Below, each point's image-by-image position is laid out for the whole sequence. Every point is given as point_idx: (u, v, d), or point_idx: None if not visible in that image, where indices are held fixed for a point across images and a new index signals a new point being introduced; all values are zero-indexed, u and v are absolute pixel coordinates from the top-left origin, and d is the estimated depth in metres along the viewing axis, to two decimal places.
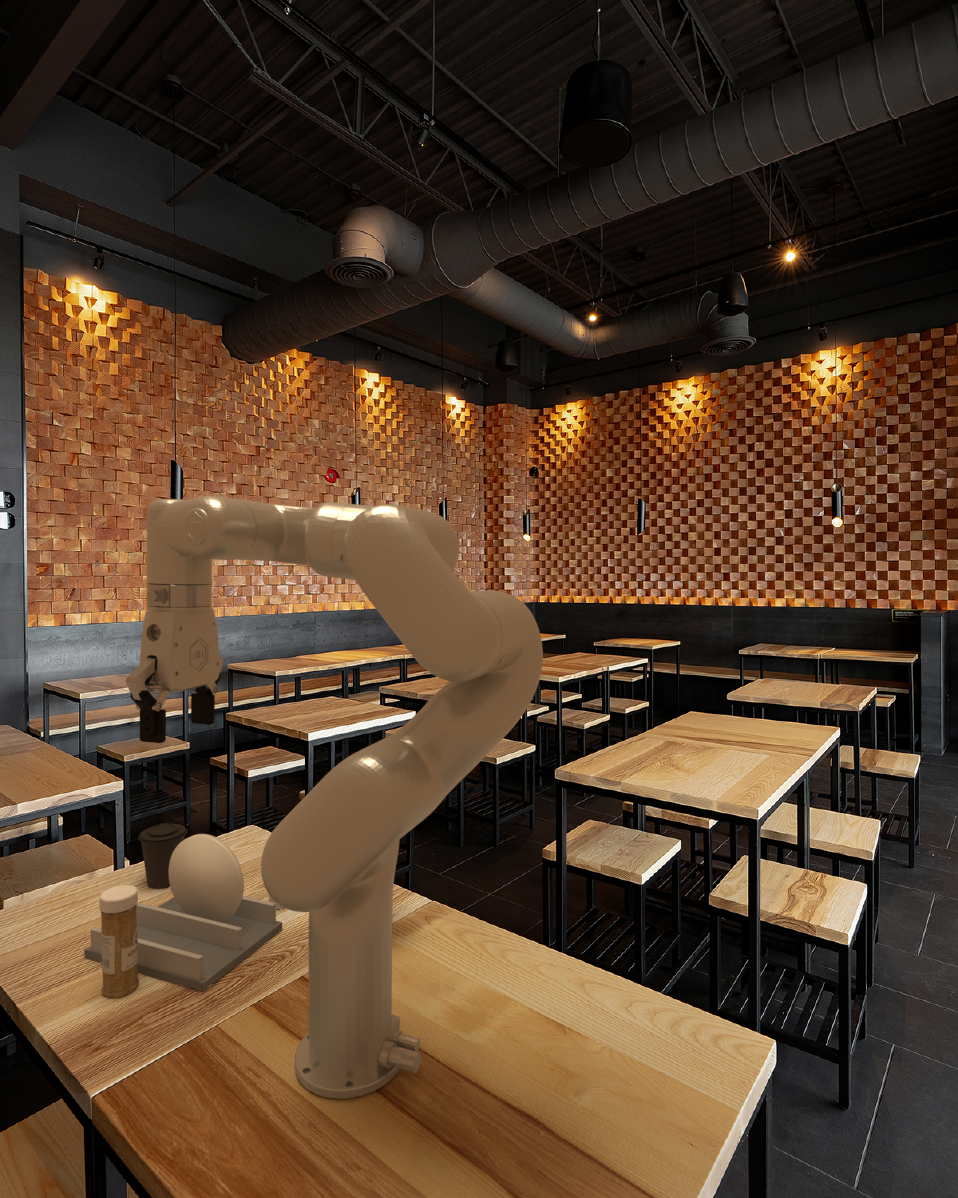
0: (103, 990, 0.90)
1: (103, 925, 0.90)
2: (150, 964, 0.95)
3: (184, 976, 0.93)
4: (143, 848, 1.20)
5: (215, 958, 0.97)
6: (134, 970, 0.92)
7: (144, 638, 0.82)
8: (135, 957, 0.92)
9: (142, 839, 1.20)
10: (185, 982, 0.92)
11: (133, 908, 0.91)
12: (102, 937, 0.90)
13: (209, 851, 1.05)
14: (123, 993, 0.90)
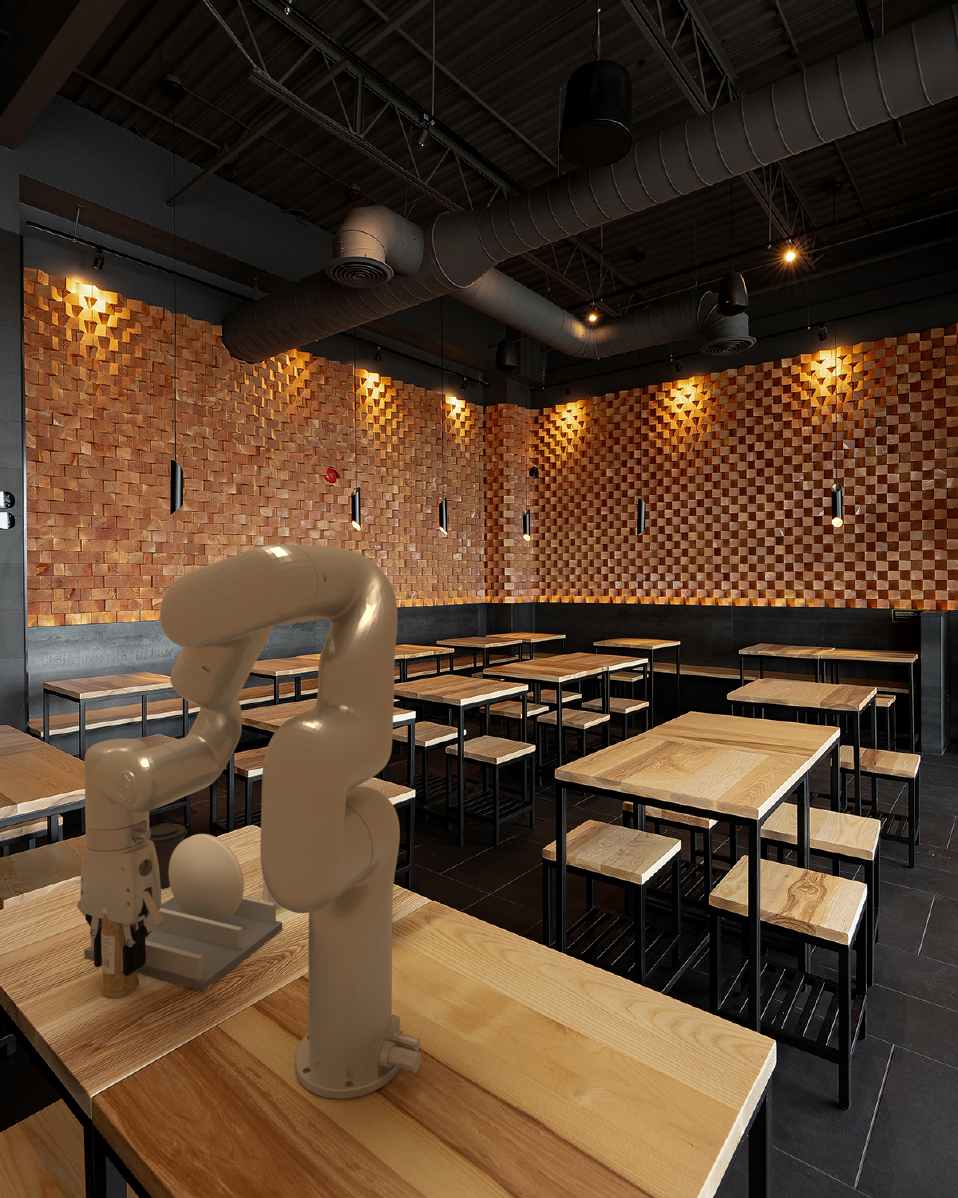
0: (103, 990, 0.90)
1: (103, 925, 0.90)
2: (150, 964, 0.95)
3: (184, 976, 0.93)
4: None
5: (215, 958, 0.97)
6: None
7: (137, 877, 0.88)
8: None
9: None
10: (185, 982, 0.92)
11: None
12: (102, 937, 0.90)
13: (209, 851, 1.05)
14: (123, 993, 0.90)
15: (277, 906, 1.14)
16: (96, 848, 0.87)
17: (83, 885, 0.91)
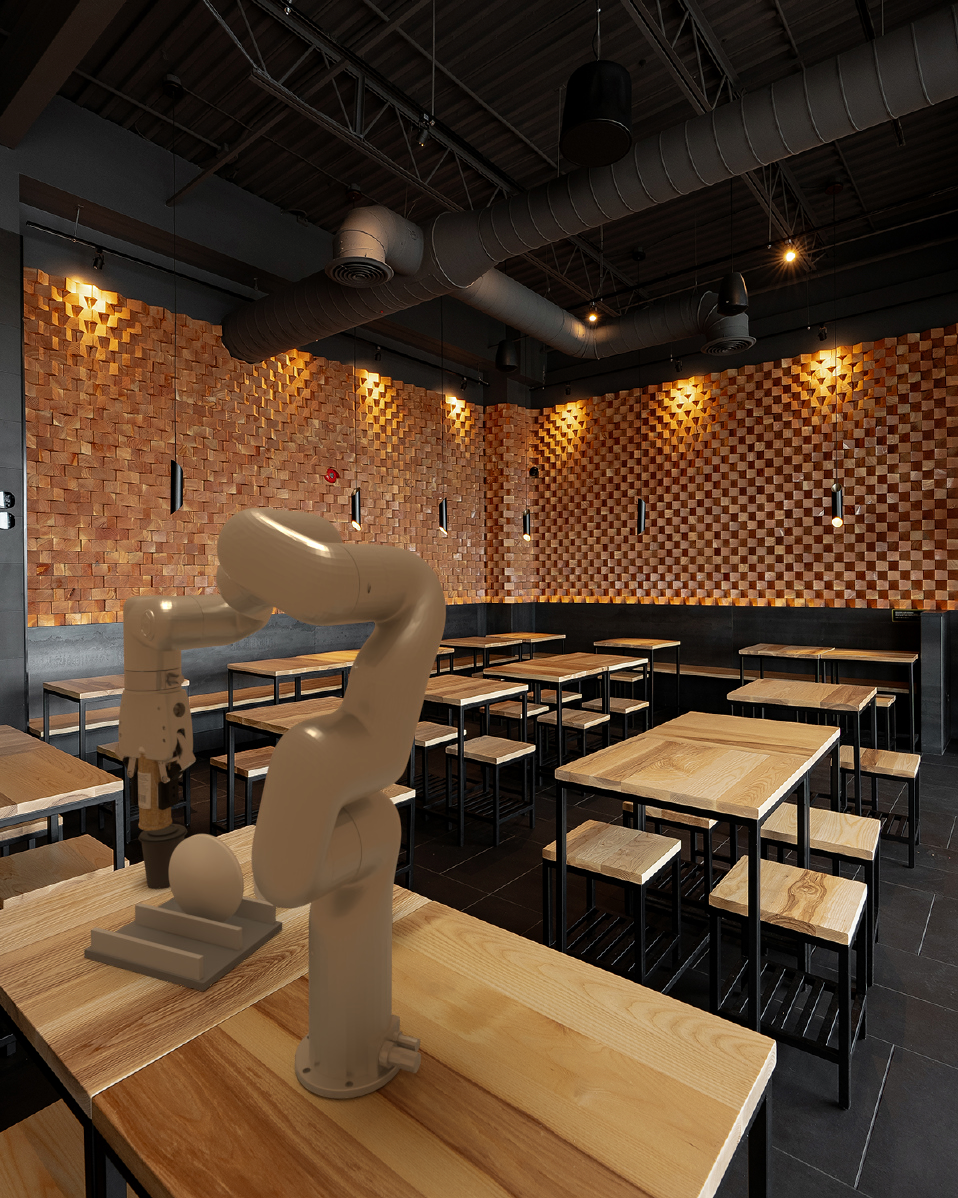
0: (140, 824, 0.98)
1: (140, 763, 0.97)
2: (150, 964, 0.95)
3: (184, 976, 0.93)
4: (143, 848, 1.20)
5: (215, 958, 0.97)
6: (168, 808, 0.99)
7: (171, 717, 0.96)
8: None
9: (142, 839, 1.20)
10: (185, 982, 0.92)
11: None
12: (139, 775, 0.97)
13: (209, 851, 1.05)
14: (158, 827, 0.98)
15: None
16: (134, 688, 0.95)
17: (121, 728, 0.98)
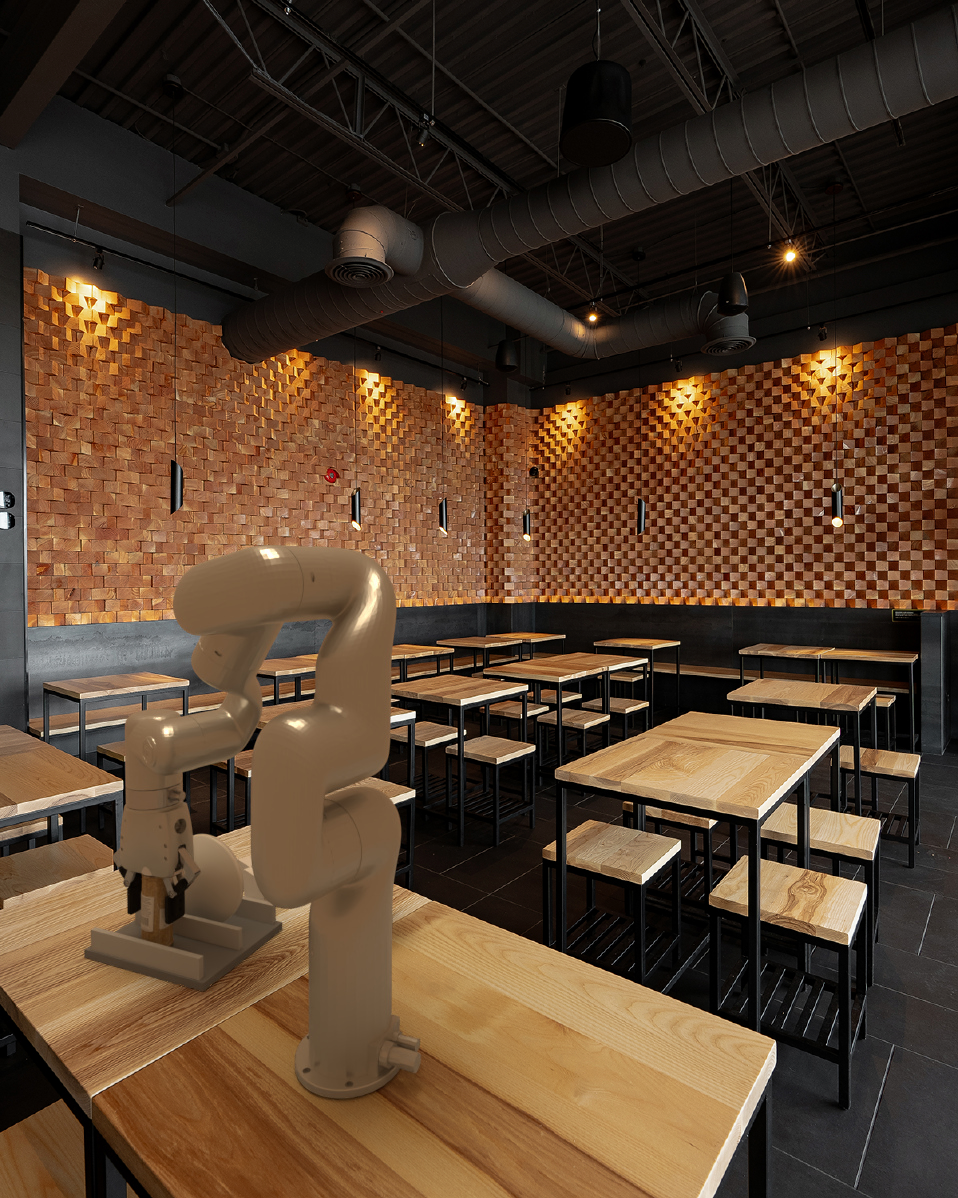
0: None
1: (144, 886, 0.98)
2: (150, 964, 0.95)
3: (184, 976, 0.93)
4: None
5: (215, 958, 0.97)
6: (170, 929, 1.00)
7: (173, 834, 0.96)
8: None
9: None
10: (185, 982, 0.92)
11: None
12: (142, 897, 0.98)
13: (209, 851, 1.05)
14: None
15: None
16: (136, 807, 0.96)
17: (123, 842, 0.99)
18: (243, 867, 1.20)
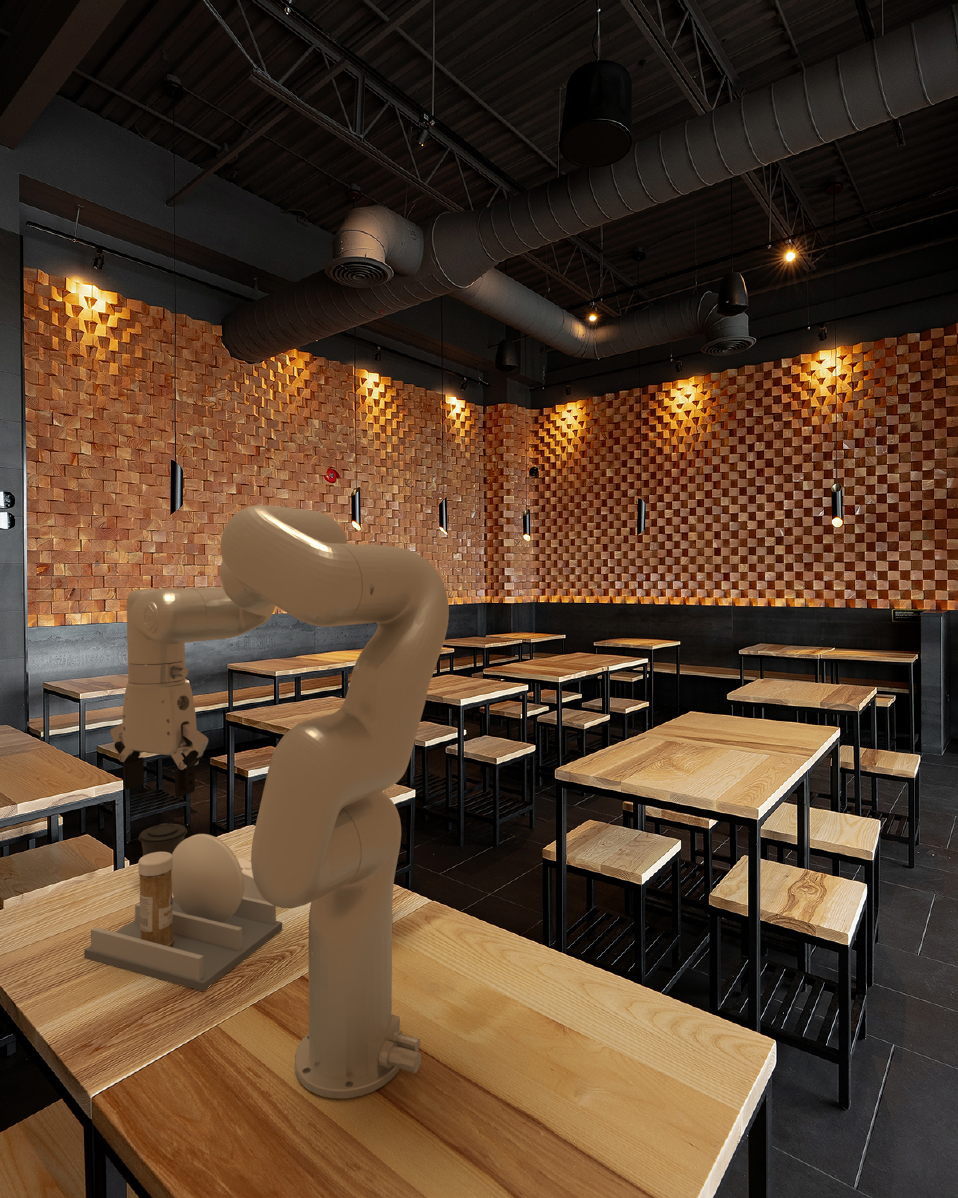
0: None
1: (142, 887, 0.98)
2: (150, 964, 0.95)
3: (184, 976, 0.93)
4: (143, 848, 1.20)
5: (215, 958, 0.97)
6: (169, 929, 1.00)
7: (176, 709, 0.96)
8: (170, 917, 1.00)
9: (142, 839, 1.20)
10: (185, 982, 0.92)
11: (169, 872, 0.99)
12: (141, 898, 0.98)
13: (209, 851, 1.05)
14: None
15: None
16: (138, 681, 0.95)
17: (125, 721, 0.98)
18: None
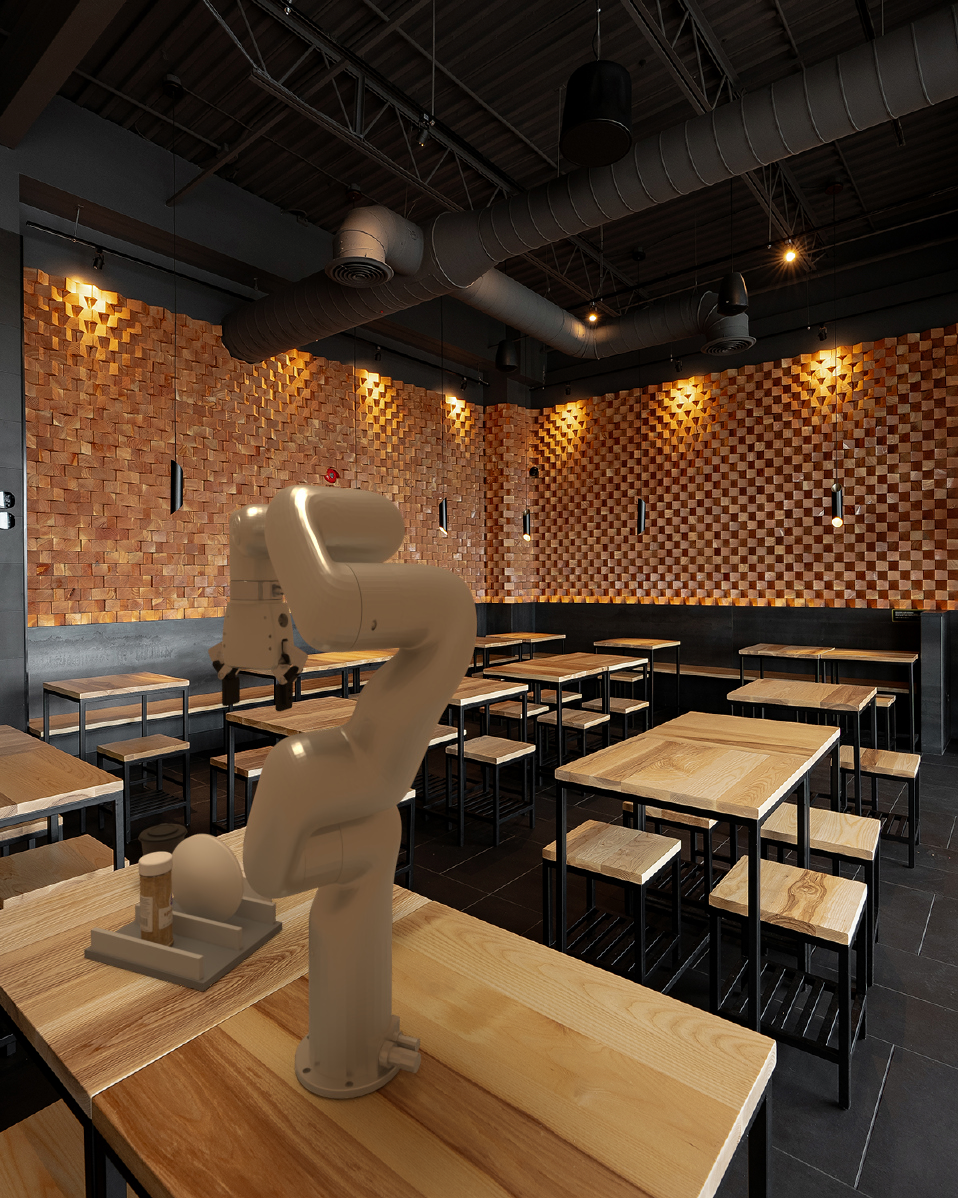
0: None
1: (142, 887, 0.98)
2: (150, 964, 0.95)
3: (184, 976, 0.93)
4: (143, 848, 1.20)
5: (215, 958, 0.97)
6: (169, 929, 1.00)
7: (277, 626, 0.98)
8: (170, 917, 1.00)
9: (142, 839, 1.20)
10: (185, 982, 0.92)
11: (169, 872, 0.99)
12: (141, 898, 0.98)
13: (209, 851, 1.05)
14: None
15: None
16: (242, 597, 0.97)
17: (225, 639, 1.01)
18: None
